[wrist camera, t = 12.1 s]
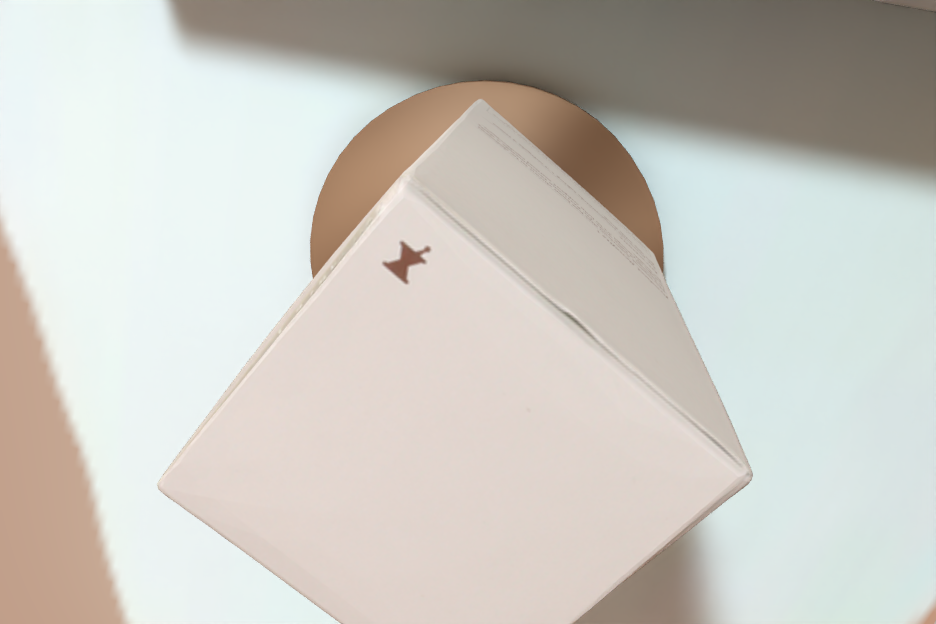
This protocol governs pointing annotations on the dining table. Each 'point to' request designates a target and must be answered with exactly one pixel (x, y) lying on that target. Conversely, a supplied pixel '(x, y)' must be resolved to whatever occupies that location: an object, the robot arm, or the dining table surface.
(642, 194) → the coaster
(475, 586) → the supplement box
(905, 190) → the dining table surface
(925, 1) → the low wall
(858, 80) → the dining table surface
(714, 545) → the dining table surface
